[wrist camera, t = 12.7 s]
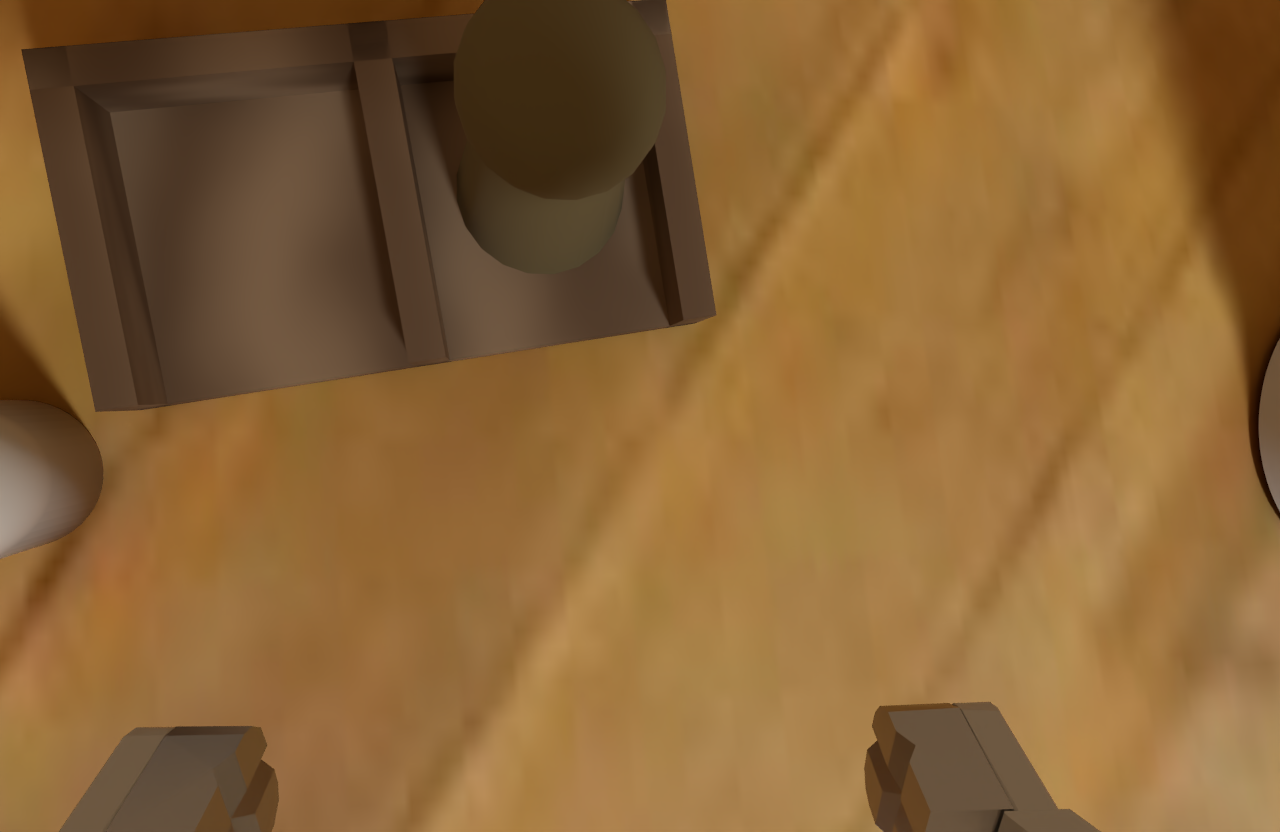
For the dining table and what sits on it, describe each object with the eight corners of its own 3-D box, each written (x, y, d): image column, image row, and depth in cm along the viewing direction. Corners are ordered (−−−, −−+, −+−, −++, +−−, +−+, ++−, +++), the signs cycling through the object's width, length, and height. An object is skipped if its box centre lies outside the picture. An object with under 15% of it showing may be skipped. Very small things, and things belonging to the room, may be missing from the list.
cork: (469, 91, 27) (451, -110, 17) (634, 128, 29) (717, -38, 18) (443, 257, 27) (408, 164, 17) (609, 288, 29) (677, 220, 18)
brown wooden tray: (648, 38, 29) (665, -2, 26) (695, 323, 30) (716, 315, 27) (75, 89, 26) (21, 49, 23) (140, 409, 27) (95, 411, 24)
